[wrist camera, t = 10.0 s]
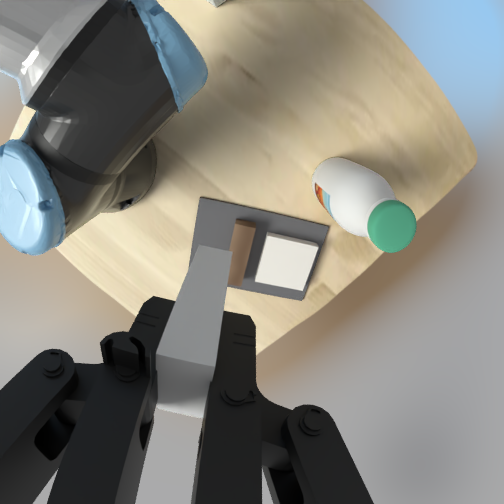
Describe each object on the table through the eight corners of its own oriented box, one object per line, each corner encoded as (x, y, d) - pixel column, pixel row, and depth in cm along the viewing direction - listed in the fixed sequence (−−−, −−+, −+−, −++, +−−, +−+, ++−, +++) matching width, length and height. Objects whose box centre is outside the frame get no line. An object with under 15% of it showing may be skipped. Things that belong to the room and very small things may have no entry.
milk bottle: (308, 158, 38) (355, 189, 20) (358, 155, 38) (434, 184, 20) (312, 209, 42) (355, 275, 24) (360, 204, 41) (426, 263, 23)
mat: (187, 276, 47) (187, 278, 46) (200, 197, 41) (199, 197, 41) (301, 299, 49) (301, 300, 48) (328, 226, 43) (328, 227, 42)
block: (223, 275, 46) (222, 283, 44) (236, 218, 42) (235, 223, 40) (241, 279, 46) (241, 286, 44) (255, 222, 42) (255, 228, 40)
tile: (254, 281, 45) (302, 290, 45) (267, 235, 41) (318, 247, 42) (255, 276, 46) (301, 285, 47) (267, 231, 43) (316, 242, 44)
